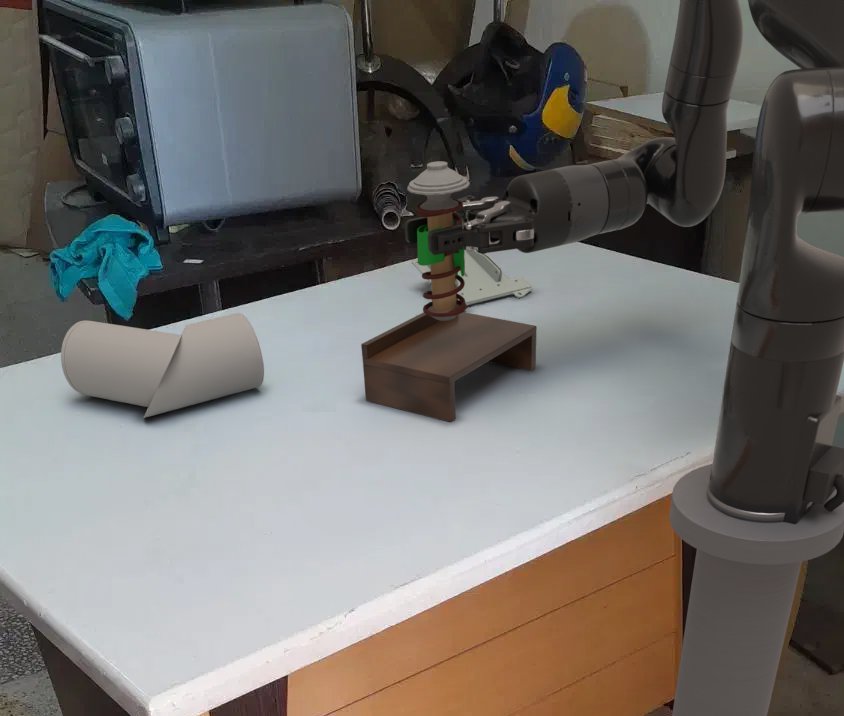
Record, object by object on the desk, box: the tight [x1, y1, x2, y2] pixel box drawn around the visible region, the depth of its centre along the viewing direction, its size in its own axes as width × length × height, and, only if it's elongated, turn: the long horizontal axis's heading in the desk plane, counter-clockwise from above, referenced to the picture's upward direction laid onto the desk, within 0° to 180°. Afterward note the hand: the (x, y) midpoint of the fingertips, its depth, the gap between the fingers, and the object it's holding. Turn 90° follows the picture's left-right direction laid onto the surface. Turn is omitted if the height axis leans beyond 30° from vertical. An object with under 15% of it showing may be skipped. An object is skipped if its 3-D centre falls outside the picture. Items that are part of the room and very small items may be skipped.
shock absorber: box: [406, 160, 471, 321], centre depth 107 cm, size 6×6×15 cm
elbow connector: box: [60, 312, 265, 419], centre depth 118 cm, size 18×11×20 cm
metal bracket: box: [411, 249, 533, 312], centre depth 145 cm, size 14×6×15 cm
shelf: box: [360, 298, 537, 423], centre depth 118 cm, size 12×18×6 cm, turn 144°
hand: (418, 237), depth 106 cm, fingers closed on shock absorber, 4 cm apart
